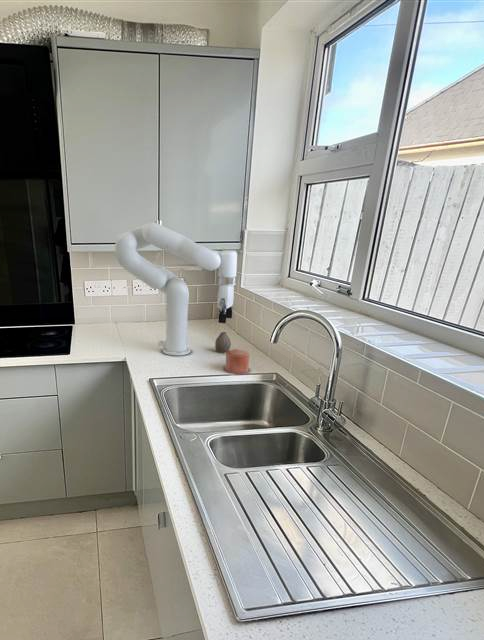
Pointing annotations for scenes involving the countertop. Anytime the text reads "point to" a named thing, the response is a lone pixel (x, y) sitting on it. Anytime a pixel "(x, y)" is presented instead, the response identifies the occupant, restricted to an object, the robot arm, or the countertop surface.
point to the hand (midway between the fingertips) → (225, 320)
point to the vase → (223, 342)
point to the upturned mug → (237, 361)
